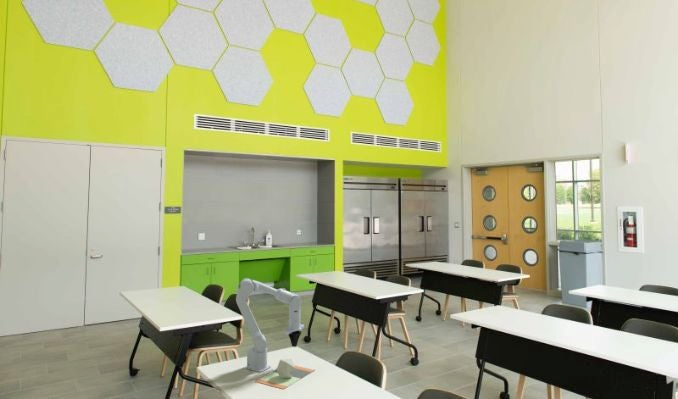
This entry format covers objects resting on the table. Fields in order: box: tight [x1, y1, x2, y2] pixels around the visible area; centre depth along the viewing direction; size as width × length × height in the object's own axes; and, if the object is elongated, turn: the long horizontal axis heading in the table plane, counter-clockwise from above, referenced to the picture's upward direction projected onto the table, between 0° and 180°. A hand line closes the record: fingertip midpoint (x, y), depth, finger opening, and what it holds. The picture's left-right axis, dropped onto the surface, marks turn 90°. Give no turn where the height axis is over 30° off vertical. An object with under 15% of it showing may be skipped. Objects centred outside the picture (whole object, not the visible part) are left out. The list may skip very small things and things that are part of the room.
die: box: [276, 358, 296, 379], centre depth 190 cm, size 8×9×10 cm
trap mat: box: [254, 364, 315, 390], centre depth 192 cm, size 16×25×1 cm, turn 151°
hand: (294, 346), depth 206 cm, fingers closed
